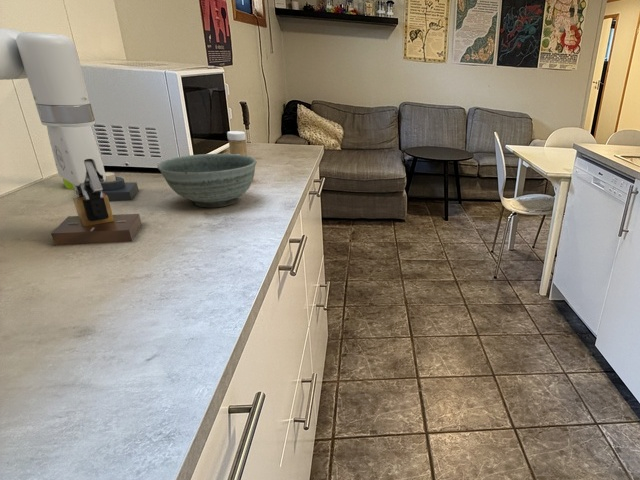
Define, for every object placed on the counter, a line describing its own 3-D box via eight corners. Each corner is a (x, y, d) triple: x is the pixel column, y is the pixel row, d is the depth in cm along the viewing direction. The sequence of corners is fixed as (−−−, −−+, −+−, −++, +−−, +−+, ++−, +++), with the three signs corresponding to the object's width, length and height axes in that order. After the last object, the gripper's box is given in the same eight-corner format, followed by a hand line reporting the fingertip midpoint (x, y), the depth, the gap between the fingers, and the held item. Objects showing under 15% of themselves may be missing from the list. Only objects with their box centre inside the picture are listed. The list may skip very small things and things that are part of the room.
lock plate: (55, 246, 85) (50, 232, 84) (71, 228, 93) (67, 215, 92) (132, 242, 89) (128, 229, 88) (141, 225, 97) (138, 212, 96)
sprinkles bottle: (235, 184, 130) (228, 133, 123) (232, 180, 133) (225, 130, 127) (252, 183, 132) (246, 133, 126) (249, 179, 135) (243, 130, 129)
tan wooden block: (84, 226, 88) (75, 198, 85) (80, 224, 89) (72, 196, 86) (114, 221, 91) (107, 194, 89) (110, 218, 92) (103, 192, 90)
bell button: (96, 183, 109) (94, 175, 108) (100, 179, 112) (98, 172, 111) (114, 183, 110) (112, 175, 109) (117, 179, 113) (115, 172, 112)
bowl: (261, 213, 109) (256, 170, 104) (158, 217, 102) (148, 171, 97) (261, 190, 126) (256, 152, 121) (172, 192, 119) (164, 151, 115)
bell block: (80, 202, 107) (75, 185, 105) (91, 192, 115) (86, 175, 113) (131, 201, 111) (127, 184, 109) (138, 191, 118) (135, 175, 116)
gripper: (25, 109, 83) (58, 211, 91) (55, 122, 74) (88, 233, 83) (76, 108, 88) (102, 204, 96) (109, 120, 79) (135, 224, 88)
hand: (96, 217), depth 89 cm, fingers closed on tan wooden block, 2 cm apart
